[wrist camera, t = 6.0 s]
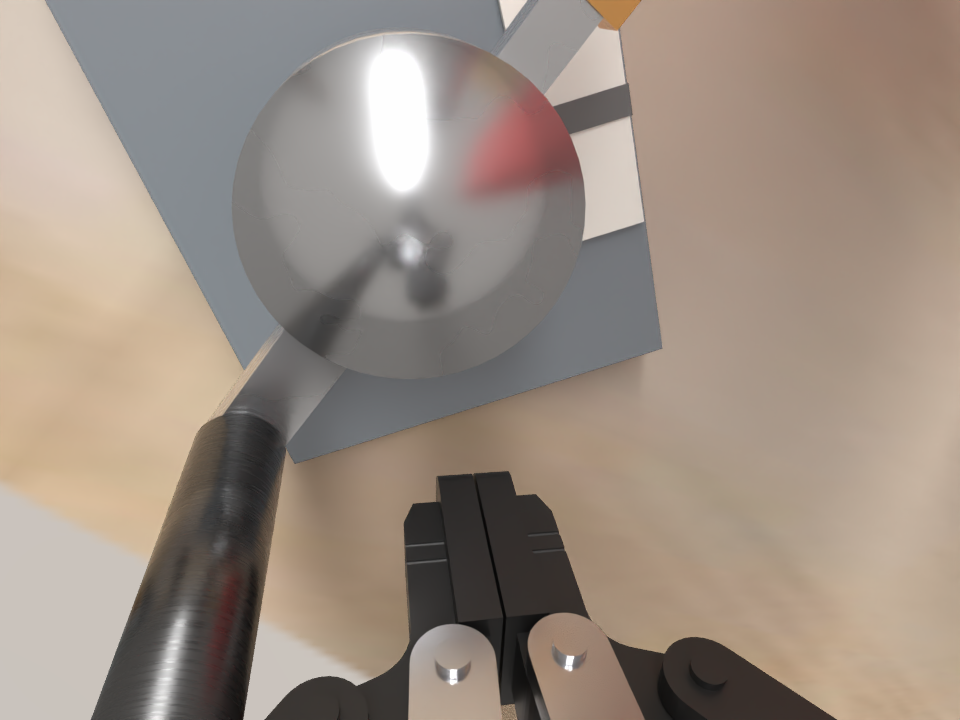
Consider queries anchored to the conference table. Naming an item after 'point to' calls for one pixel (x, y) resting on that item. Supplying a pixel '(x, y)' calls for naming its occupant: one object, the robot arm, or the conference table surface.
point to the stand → (234, 108)
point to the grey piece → (358, 298)
